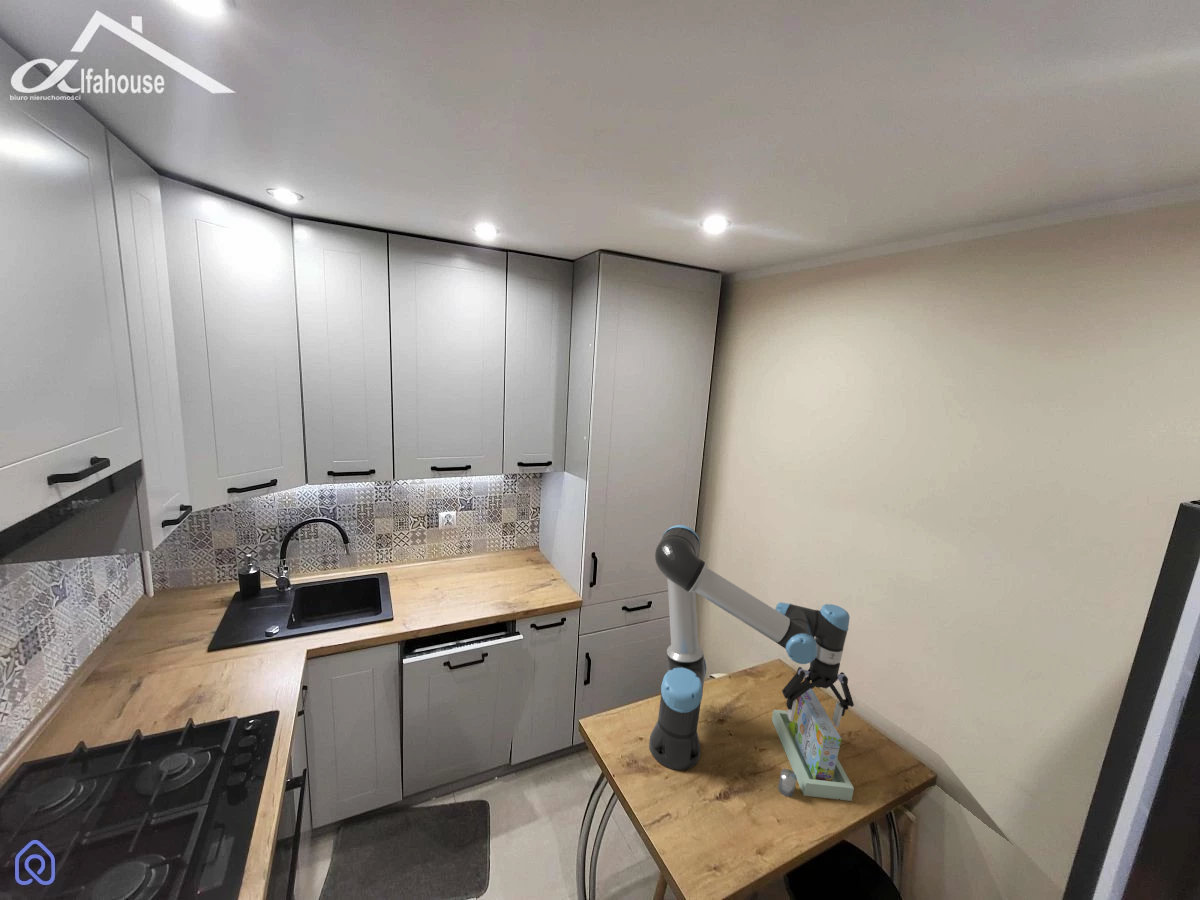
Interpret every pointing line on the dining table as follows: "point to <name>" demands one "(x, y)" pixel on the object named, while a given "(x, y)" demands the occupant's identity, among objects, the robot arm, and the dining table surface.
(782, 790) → the metal part
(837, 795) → the tray
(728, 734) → the dining table surface
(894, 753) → the dining table surface
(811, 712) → the snack box
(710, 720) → the dining table surface
